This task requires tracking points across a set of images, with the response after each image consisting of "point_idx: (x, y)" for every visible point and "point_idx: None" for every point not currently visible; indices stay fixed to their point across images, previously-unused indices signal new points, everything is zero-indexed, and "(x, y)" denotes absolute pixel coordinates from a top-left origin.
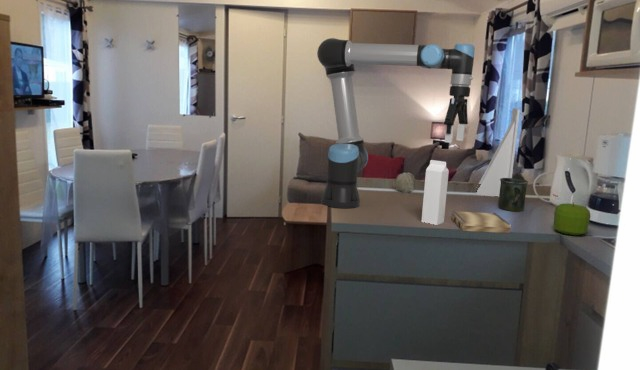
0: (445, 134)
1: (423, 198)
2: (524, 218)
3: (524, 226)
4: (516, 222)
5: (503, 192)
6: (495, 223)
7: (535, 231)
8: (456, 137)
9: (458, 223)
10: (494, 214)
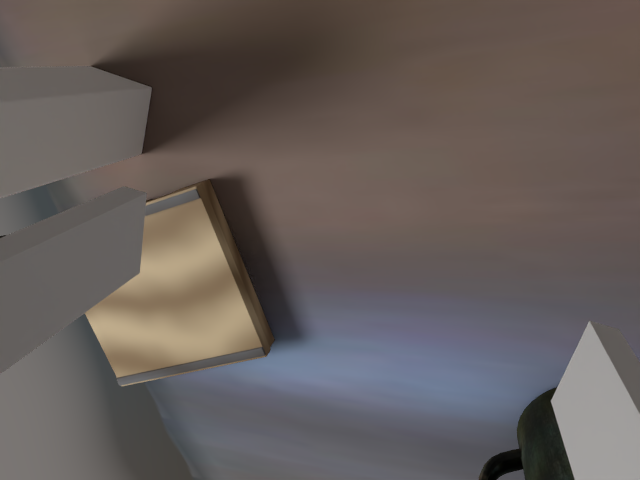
0: (55, 216)
1: (11, 67)
2: (398, 449)
3: (262, 426)
4: (309, 411)
5: (557, 447)
6: (103, 340)
7: (213, 446)
8: (599, 342)
9: None
10: (243, 350)
